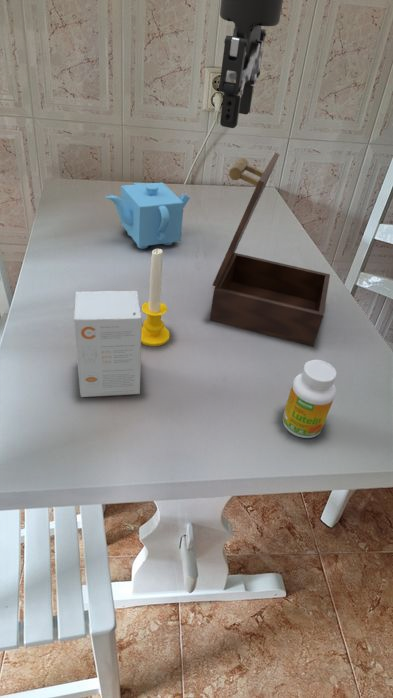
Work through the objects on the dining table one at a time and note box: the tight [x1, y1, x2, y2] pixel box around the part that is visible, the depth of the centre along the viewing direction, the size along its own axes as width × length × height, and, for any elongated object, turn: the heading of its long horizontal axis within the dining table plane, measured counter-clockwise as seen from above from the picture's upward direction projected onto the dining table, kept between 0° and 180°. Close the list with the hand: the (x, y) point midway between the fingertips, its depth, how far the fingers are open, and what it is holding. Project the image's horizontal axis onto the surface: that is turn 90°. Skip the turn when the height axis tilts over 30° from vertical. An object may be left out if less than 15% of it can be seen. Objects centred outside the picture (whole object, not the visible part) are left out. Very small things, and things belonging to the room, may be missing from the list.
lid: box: [212, 152, 280, 288], centre depth 77 cm, size 18×14×5 cm
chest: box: [209, 252, 331, 348], centre depth 84 cm, size 18×14×6 cm
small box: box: [73, 290, 143, 398], centre depth 64 cm, size 8×6×13 cm
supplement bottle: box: [282, 359, 337, 439], centre depth 63 cm, size 5×5×10 cm
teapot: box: [104, 181, 191, 249], centre depth 99 cm, size 16×18×11 cm
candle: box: [141, 246, 171, 347], centre depth 72 cm, size 5×5×16 cm
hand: (235, 119), depth 68 cm, fingers open, 8 cm apart
